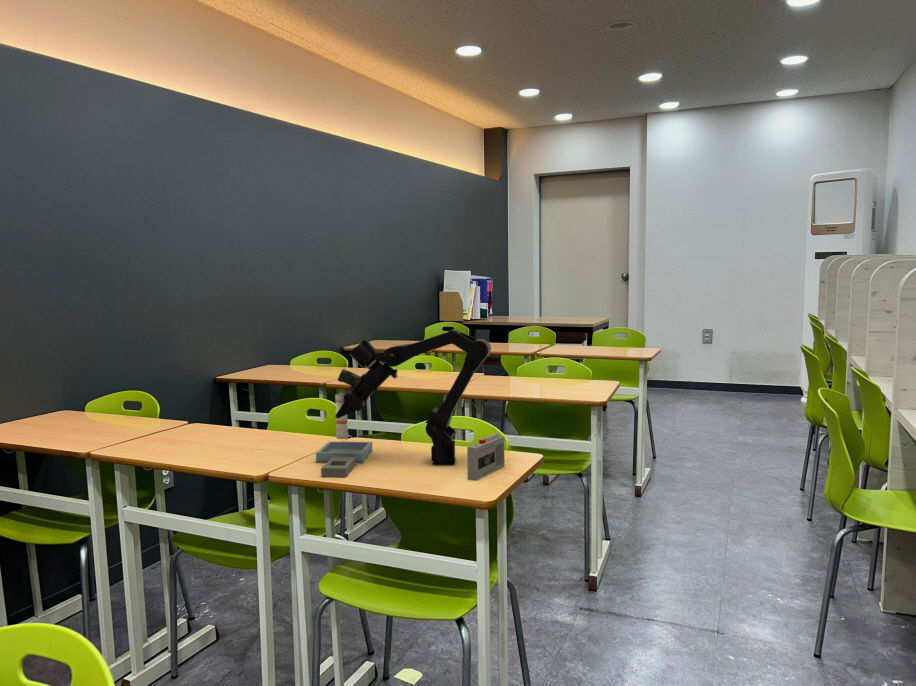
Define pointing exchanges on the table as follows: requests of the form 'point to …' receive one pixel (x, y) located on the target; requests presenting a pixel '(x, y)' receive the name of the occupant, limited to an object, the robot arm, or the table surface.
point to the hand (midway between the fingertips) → (337, 416)
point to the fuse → (341, 419)
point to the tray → (344, 451)
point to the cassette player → (485, 456)
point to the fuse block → (338, 467)
